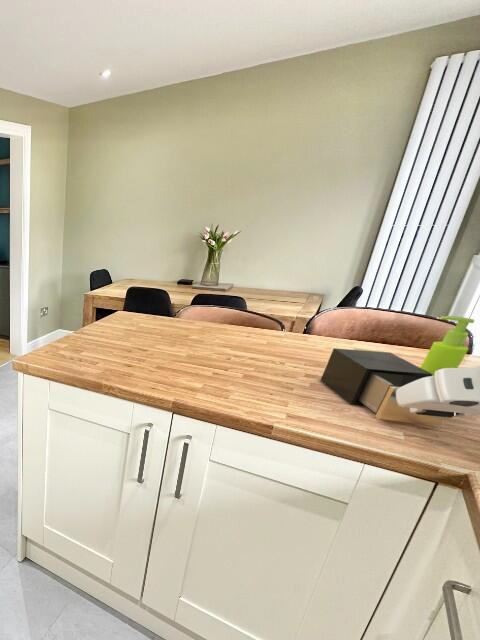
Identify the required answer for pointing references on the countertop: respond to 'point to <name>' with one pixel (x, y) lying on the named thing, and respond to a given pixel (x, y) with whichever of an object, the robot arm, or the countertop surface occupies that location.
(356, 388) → the black drawer box
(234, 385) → the countertop surface
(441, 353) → the soap dispenser
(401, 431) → the countertop surface
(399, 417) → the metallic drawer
